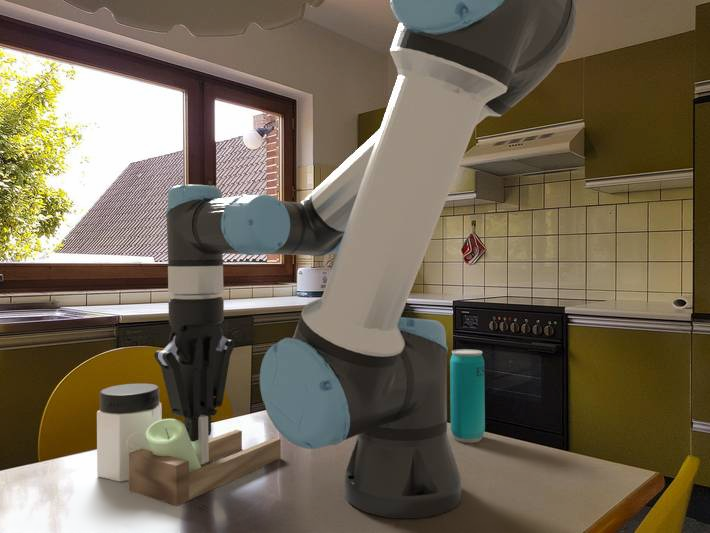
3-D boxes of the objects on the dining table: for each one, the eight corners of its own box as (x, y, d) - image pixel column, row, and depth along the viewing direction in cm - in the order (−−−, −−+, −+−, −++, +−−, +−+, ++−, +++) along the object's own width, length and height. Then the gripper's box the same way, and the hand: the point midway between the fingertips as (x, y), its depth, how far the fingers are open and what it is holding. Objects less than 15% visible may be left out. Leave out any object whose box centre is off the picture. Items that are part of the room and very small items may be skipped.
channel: (280, 458, 86) (280, 426, 86) (176, 505, 69) (176, 465, 69) (236, 447, 91) (236, 417, 91) (129, 490, 74) (129, 452, 74)
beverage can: (489, 437, 95) (488, 350, 95) (478, 446, 91) (477, 355, 91) (458, 432, 99) (457, 347, 99) (445, 440, 94) (444, 352, 94)
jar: (102, 486, 75) (101, 398, 75) (92, 468, 82) (92, 387, 82) (169, 472, 80) (168, 390, 80) (155, 456, 87) (154, 380, 87)
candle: (208, 465, 77) (189, 415, 75) (185, 490, 73) (164, 438, 71) (182, 462, 80) (163, 414, 77) (158, 487, 75) (136, 436, 73)
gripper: (212, 292, 86) (214, 442, 86) (140, 298, 75) (143, 470, 75) (247, 293, 82) (249, 451, 82) (177, 300, 71) (180, 482, 71)
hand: (198, 460), depth 79 cm, fingers closed
